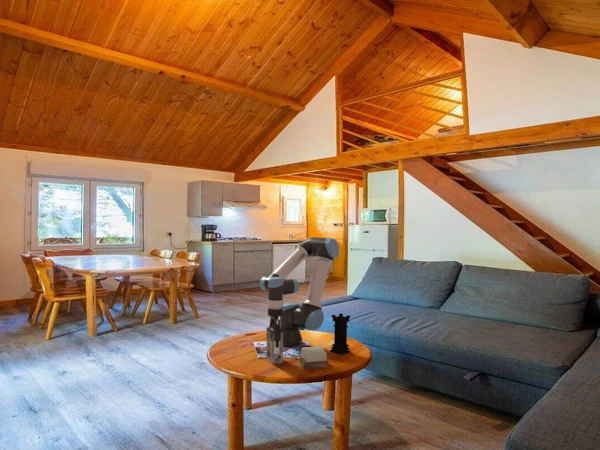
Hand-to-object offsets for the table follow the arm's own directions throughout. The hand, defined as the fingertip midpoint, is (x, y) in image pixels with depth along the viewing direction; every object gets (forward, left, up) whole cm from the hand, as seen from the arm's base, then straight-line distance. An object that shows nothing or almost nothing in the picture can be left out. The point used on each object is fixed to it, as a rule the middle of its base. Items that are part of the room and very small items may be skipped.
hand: (274, 349), depth 208 cm
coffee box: (0, 0, -6) cm, 6 cm away
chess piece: (-7, +38, -6) cm, 39 cm away
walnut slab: (+10, +18, -6) cm, 21 cm away
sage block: (+10, +18, -2) cm, 21 cm away
